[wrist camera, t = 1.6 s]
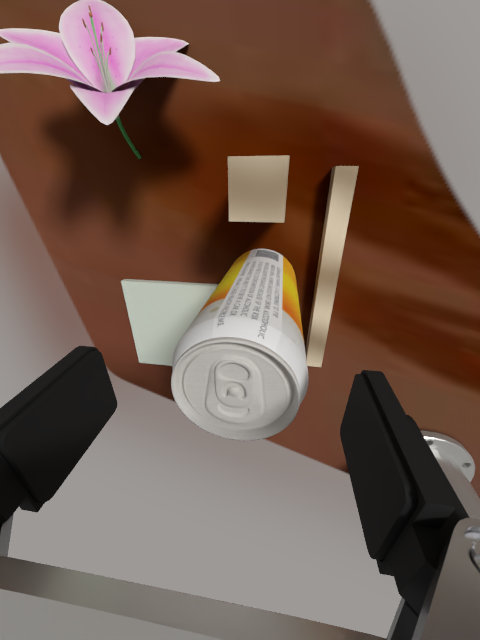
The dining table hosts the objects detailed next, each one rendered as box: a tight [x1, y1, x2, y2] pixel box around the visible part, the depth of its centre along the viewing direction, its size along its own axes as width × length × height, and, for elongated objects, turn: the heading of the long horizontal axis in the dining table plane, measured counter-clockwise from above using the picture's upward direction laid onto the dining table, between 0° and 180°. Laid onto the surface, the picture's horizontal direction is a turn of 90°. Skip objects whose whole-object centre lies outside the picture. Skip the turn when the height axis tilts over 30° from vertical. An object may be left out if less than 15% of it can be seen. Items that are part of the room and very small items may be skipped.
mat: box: [121, 279, 219, 366], centre depth 27 cm, size 10×10×1 cm
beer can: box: [171, 249, 308, 441], centre depth 17 cm, size 6×6×15 cm
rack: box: [228, 156, 359, 367], centre depth 19 cm, size 17×8×8 cm, turn 0°
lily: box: [0, 0, 220, 159], centre depth 15 cm, size 12×12×10 cm
